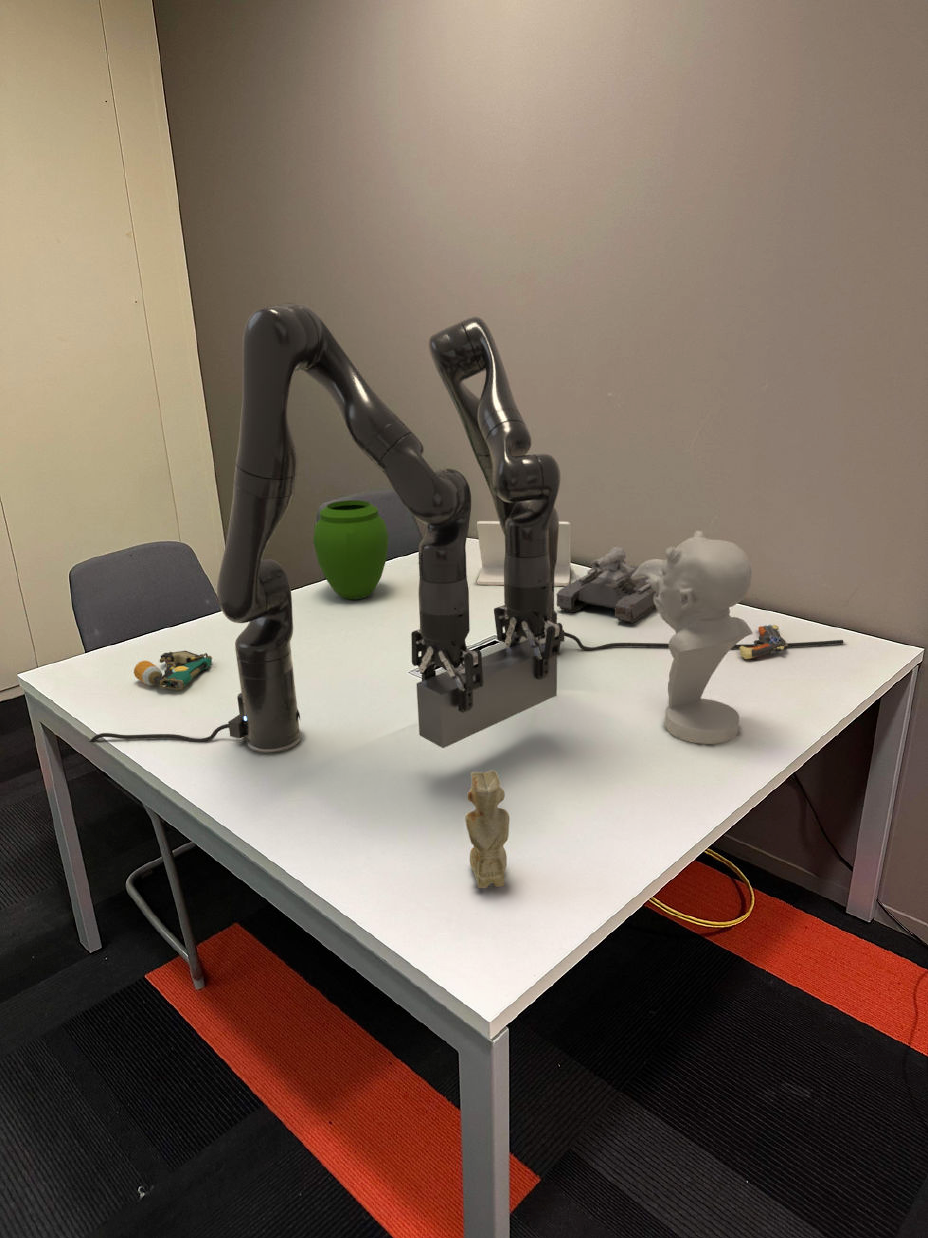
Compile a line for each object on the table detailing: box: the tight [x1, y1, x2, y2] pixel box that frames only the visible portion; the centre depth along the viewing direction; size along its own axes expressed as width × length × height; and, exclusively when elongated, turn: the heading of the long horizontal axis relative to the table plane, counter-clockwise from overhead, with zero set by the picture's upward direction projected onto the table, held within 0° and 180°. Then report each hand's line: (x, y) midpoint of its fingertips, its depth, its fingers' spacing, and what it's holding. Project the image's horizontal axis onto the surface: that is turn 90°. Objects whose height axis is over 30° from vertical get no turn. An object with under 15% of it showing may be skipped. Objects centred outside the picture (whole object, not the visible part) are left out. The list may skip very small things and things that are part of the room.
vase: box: [312, 499, 389, 601], centre depth 223 cm, size 20×20×24 cm
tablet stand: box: [476, 520, 572, 587], centre depth 236 cm, size 18×25×17 cm
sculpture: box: [464, 769, 510, 889], centre depth 113 cm, size 6×7×15 cm
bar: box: [416, 639, 558, 749], centre depth 140 cm, size 26×6×9 cm, turn 132°
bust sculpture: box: [631, 530, 754, 745], centre depth 151 cm, size 16×24×35 cm, turn 28°
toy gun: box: [739, 624, 788, 660], centre depth 187 cm, size 3×19×10 cm
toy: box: [556, 546, 656, 624], centre depth 212 cm, size 25×20×15 cm
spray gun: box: [133, 650, 213, 690], centre depth 180 cm, size 4×17×15 cm
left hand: (447, 701), depth 134 cm, fingers open, 8 cm apart
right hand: (527, 671), depth 145 cm, fingers closed on bar, 6 cm apart
